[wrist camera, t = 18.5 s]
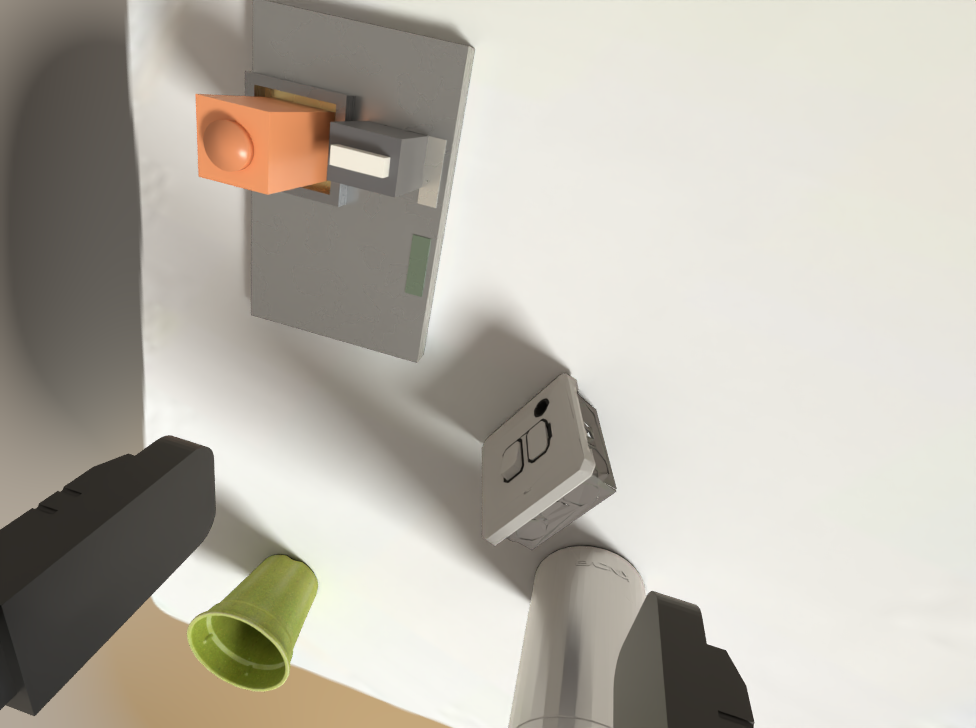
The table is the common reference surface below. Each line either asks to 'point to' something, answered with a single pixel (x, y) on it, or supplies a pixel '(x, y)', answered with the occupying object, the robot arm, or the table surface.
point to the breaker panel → (345, 209)
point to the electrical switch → (544, 467)
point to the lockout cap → (262, 142)
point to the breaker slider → (376, 157)
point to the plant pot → (256, 625)
